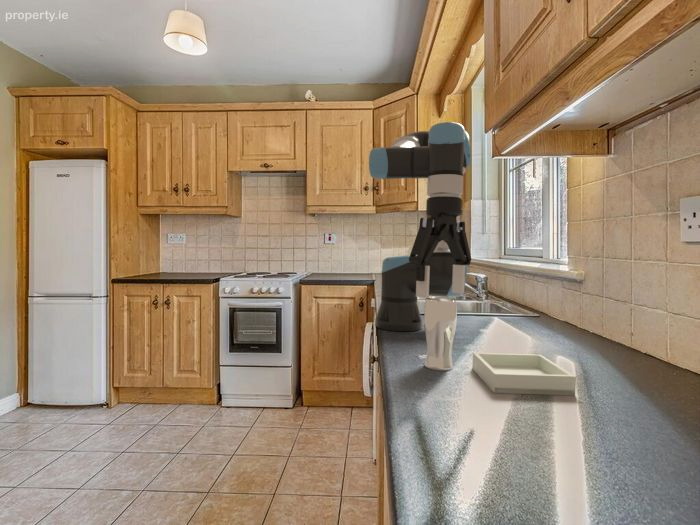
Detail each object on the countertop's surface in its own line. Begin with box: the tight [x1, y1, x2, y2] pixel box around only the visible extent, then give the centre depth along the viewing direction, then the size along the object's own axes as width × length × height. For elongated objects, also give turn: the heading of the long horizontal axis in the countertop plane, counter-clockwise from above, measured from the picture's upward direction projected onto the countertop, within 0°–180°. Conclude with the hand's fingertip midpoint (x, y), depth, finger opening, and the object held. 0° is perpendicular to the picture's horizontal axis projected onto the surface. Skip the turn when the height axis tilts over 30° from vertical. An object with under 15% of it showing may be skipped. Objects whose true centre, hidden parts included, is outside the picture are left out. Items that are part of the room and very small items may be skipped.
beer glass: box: [423, 296, 458, 372], centre depth 90 cm, size 7×7×15 cm
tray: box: [472, 352, 577, 396], centre depth 81 cm, size 15×15×4 cm
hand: (441, 295), depth 89 cm, fingers open, 13 cm apart
